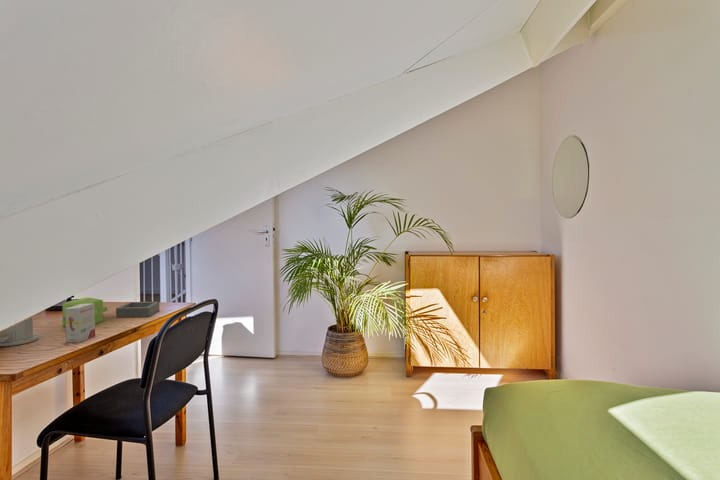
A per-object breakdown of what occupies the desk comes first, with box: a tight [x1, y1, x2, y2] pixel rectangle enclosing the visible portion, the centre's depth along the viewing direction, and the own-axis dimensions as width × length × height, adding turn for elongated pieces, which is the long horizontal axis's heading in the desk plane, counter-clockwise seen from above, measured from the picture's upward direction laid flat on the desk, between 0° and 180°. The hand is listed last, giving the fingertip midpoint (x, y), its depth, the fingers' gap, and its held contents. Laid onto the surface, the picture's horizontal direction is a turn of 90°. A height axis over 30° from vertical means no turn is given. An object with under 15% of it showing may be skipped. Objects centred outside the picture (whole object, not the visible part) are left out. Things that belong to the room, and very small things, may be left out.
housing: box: [115, 301, 160, 319], centre depth 179 cm, size 13×13×4 cm
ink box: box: [65, 303, 96, 343], centre depth 141 cm, size 9×5×12 cm, turn 0°
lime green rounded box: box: [61, 297, 108, 327], centre depth 160 cm, size 18×10×10 cm, turn 168°
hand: (101, 267), depth 172 cm, fingers closed on battery, 4 cm apart
